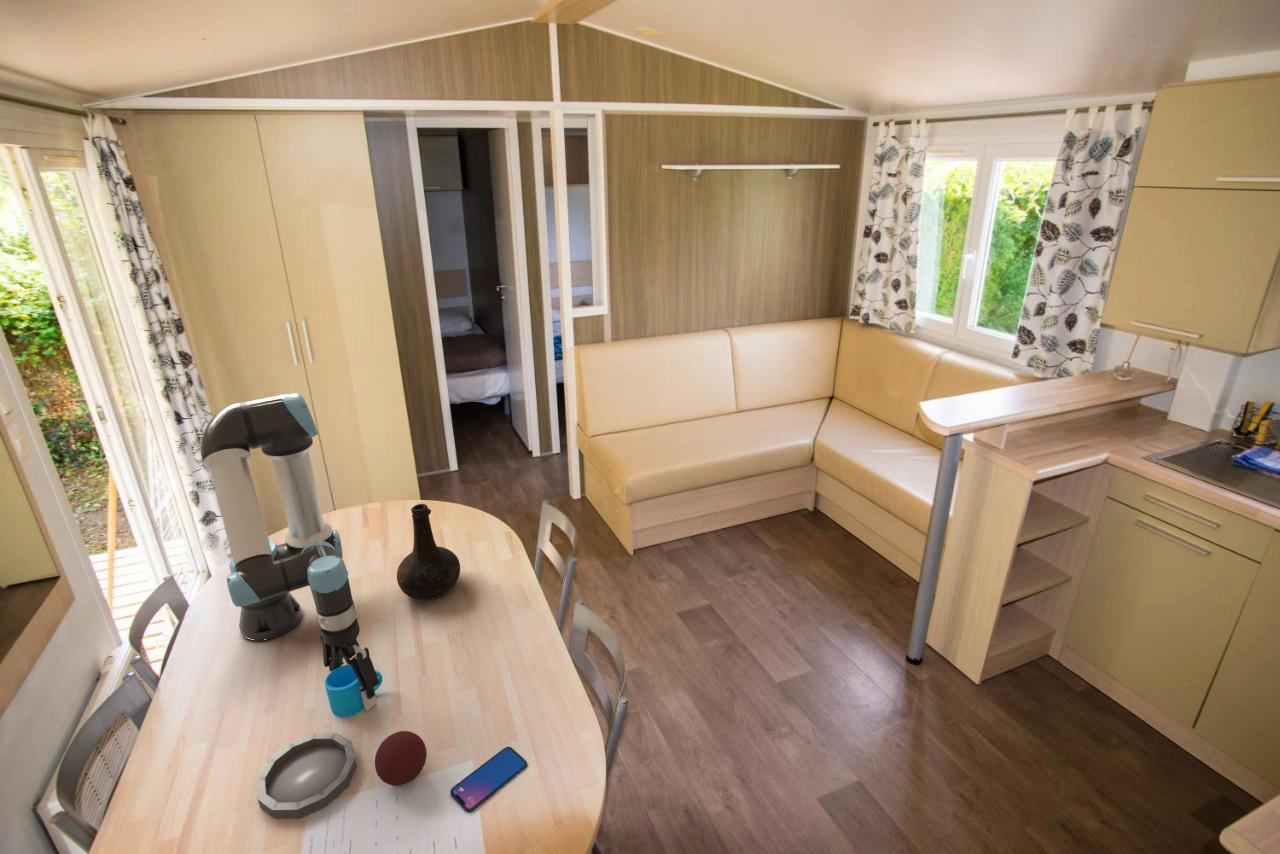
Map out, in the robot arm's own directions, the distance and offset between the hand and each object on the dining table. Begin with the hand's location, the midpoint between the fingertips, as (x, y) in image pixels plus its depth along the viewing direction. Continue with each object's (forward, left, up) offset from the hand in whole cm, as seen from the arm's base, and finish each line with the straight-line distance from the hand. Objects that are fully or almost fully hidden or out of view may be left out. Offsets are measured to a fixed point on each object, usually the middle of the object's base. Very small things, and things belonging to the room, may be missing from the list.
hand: (357, 698), depth 153 cm
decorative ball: (+26, -9, 0) cm, 27 cm away
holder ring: (+9, -19, 0) cm, 21 cm away
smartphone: (+42, -1, -1) cm, 42 cm away
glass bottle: (-16, +39, 0) cm, 42 cm away
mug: (0, 0, 0) cm, 1 cm away
